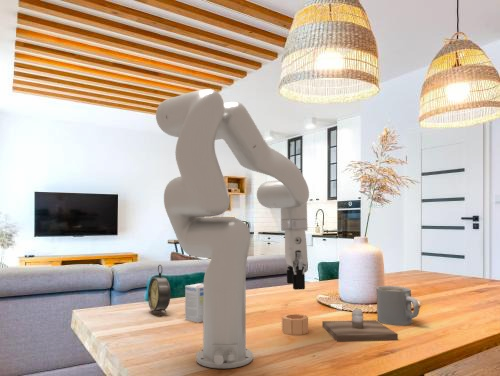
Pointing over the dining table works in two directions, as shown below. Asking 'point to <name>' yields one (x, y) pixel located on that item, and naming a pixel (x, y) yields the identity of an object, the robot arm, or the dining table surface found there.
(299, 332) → the ring
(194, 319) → the light bulb box
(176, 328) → the dining table surface
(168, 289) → the alarm clock
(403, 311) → the coffee mug
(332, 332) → the post base
